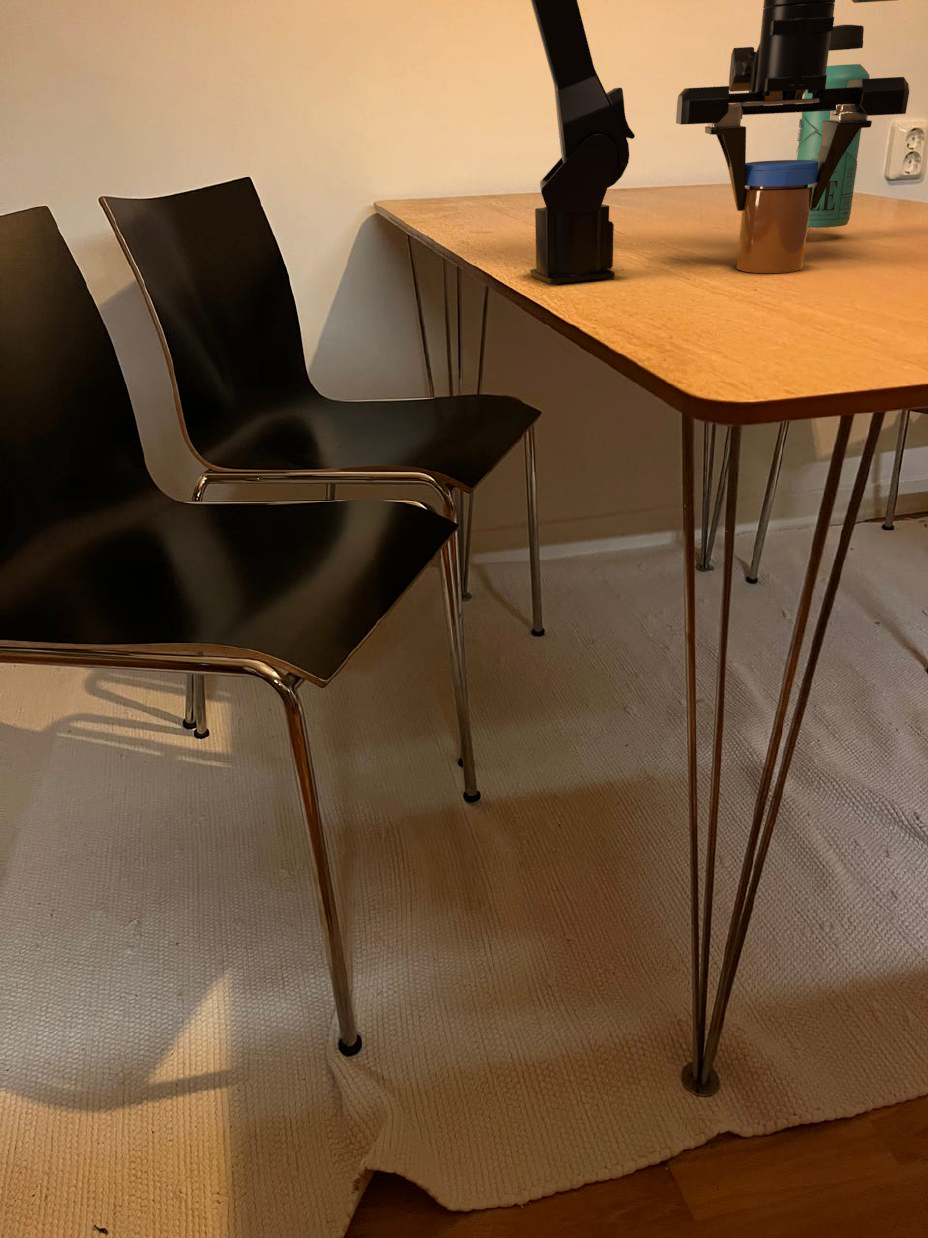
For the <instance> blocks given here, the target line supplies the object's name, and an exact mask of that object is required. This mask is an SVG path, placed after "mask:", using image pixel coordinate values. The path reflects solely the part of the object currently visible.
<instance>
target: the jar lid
mask: <svg viewBox="0 0 928 1238" xmlns="http://www.w3.org/2000/svg"><path fill="white" fill-rule="evenodd" d="M818 163H819V162H818V161H814V160H797V159H779V160H776V159H775V160H762V161H761V160H760V161H750V162H746V166H745V187H748V186H757V187H780V186H799V185H808V184H813V183H816V178H817V170H818Z"/></svg>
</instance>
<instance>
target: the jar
mask: <svg viewBox="0 0 928 1238" xmlns="http://www.w3.org/2000/svg"><path fill="white" fill-rule="evenodd" d="M812 189H813V186H811V185H799V186H780V187H757V186H745V197H744V204H743V210H742V211H741V216H740V224H739V225H740V226H739V236H738V245H737V246H738V247H737V259H736V269H737V270H738V271H741V272H746V273H751V274H784V273H792V272H797V271H800V270H802V269H803V267H804V260H805V252H806V246H807V245H806V243H807V236H808V229H809V228H808V221H809V213H810V205H811V197H812Z"/></svg>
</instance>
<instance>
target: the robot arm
mask: <svg viewBox="0 0 928 1238" xmlns="http://www.w3.org/2000/svg"><path fill="white" fill-rule="evenodd" d="M895 1H898V0H851V2H852V3H853V4H859V3H861V4H862V3H878V2H879V3H880V2H895ZM530 3H531V6H532V10H533V13H534V17H535V21H536V23H537V28H538V32H539V35H540V39H541V42H542V47H543V50H544V54H545V57H546V61H547V65H548V68H549V72H550V75H551V80H552V82H553V88H554V97H555V98H554V99H555V109H556V118H557V119H556V121H557V128H558V137H559V147H560V155H561V157H560V158H559V159H558V161H557V162H556V163H555V164H554V165H553V166H552V168H551V169H550V170H548V172H547V173H546V174H545V175H544V177H543V178H542V179H541V180H540V182H539V188H540V194H541V196H542V199H543V201H544V205H545V206H544V207H537V208H535V209H534V216H535V218H534V219H535V220H534V221H535V222H534V223H535V224H534V225H535V268H532V269H529V273H530V275H531V276H532V277H535V278H537V279H539V280H542V281H544V282H546V283H549V284H563V283H564V284H565V283H572V282H573V283H574V282H583V281H590V280H600V279H609V278H615V277H616V271H614V270H611V269H612V268H613V267H614V232H615V224H614V223H613V221H611V220H610V205H608V204H603V202H604V200H605V198H606V197H605V196H606V195H607V191H608V189H609V188H611V187H612V186H614V185H615V184H616V183H617V182H618V181H619V180H620V179H621V178H622V177H623V176H624V173H625V171H626V169H627V168H628V165H629V160H630V147H629V145H630V144H629V142H628V139H631V140H634V139H635V136H636V135H635V133H634V132H633V131H632V129H631V128H630V126H629V124H628V121H627V117H626V110H625V97H624V91H623V88H622V87H614V88H612V89H611V90H609V91H607V92H606V90H605V88H604V85H603V83H602V81H601V79H600V78H599V75H598V73H597V71H596V69H595V65H594V62H593V58H592V53H591V49H590V46H589V45H590V44H589V42H588V38H587V34H586V30H585V26H584V22H583V17H582V15H581V11H580V7H579V2H578V0H530ZM835 3H836V0H763V5H762V7H763V9H762V17H761V26H760V38H759V44H758V47H757V49H756V51H755V47H753V46H745V47H744V46H743V47H733V49H732V52H731V55H730V63H729V64H730V66H729V78H728V79H729V80H728V85H721V86H703V87H701V86H700V87H688V88H683V89H682V91H681V92H680V93H679V94H678V96H677V101H676V113H675V114H676V115H675V123H676V124H678V125H701V124H702V125H703V124H704V125H705V124H707V126H704V133H705V134H708V135H713V136H715V135H716V138H717V140H718V142H719V145H720V147H721V150H722V154H723V157H724V159H725V163H726V165H727V169H728V174H729V180H730V184H731V190H732V194H733V199H734V203H735V207H736V211H738V212H742V210H743V204H744V197H745V187H746V186H745V166H746V163H747V162H746V161H747V160H746V157H747V126H744V125H741V123H742V120H743V116H750V115H751V116H753V115H773V114H774V115H775V114H791V113H802V112H816V111H830V121H823V124H822V140H821V146H820V151H819V155H818V160H817V161H818V162H819V163H818V170H817V178H816V183H813V184H812V186H813V189H812V197H811V205H810V208H816V207H817V205H818V203H819V201H820V199H821V197H822V195H823V193H824V191H825V189H826V187H827V185H828V183H829V181H830V179H831V177H832V175H833V173H834V171H835V169H836V167H837V165H838V163H839V161H840V159H841V158H842V156H843V155H844V153H845V151H846V150H847V148H848V147H849V145H850V144H851V142H852V140H853V139H854V137H855V136H856V134H857V132H858V131H859V130H860V129H861V130H862V129H865V128H866V129H867V128H871V127H872V124H873V120H869V119H868V117H869V116H870V117H871V116H889V115H890V116H891V115H894V116H895V115H906V114H907V109H908V102H909V96H910V85H909V82H908V81H907V79H906V78H905V77H904V76H893V77H892V76H891V77H875V78H869V79H855V80H849V82H848V85H847V88H829V89H825V86H826V79H827V75H826V69H827V66H828V60H829V53H830V51H829V45H830V38H831V31H833V26H834V25H835V23H834V22H835V16H834V15H835V14H834V13H835V5H836V4H835ZM806 90H808V92H807V93H812V98H809V99H804V94H805V91H806ZM732 92H733V93H732Z"/></svg>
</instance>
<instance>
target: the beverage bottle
mask: <svg viewBox="0 0 928 1238" xmlns="http://www.w3.org/2000/svg"><path fill="white" fill-rule="evenodd" d="M864 29H865V28H864V25H860V24H838V25H833V31H831V38H830V45H829V52H830V51H831V52H832V51H833V52H834V51H844V50H845V51H847V50H859V49H863V47H864V32H865V31H864ZM826 75H827V79H826V86H825V89H829V88H847V85H848V82H849V80H855V79H870V77H871V76H870V73H869V72H868V71H867V70H866V68H864V67H863V65H862V64H861V63H855V64H854V63H852V64H851V63H850V64H835V65H827V69H826ZM807 92H808V90H806V91H805V93H804V94H803V99H809V98H812V93H807ZM823 121H830V111H816V112H801V118H799V124H798V127H799V129H798V132H797V133H798V134H797V135H798V137H797V141H798V144H797V145H798V146H797V148H796V153H795V154H796V160H814V161H817V160H818V155H819V151H820V146H821V140H822V124H823ZM861 134H862V128H861V129H860V130H859V131H858V132H857V134H856V136H855V137H854V139H853V140H852V142H851V144H850V145H849V147H848V148H847V150H846V151H845V153H844V155H843V156H842V158H841V159H840V161H839V163H838V165H837V167H836V169H835V171H834V173H833V175H832V177H831V179H830V181H829V183H828V185H827V187H826V189H825V191H824V193H823V195H822V197H821V199H820V201H819V203H818V205H817V207H816V208H810V213H809V221H808V229H823V228H838V227H844V226H847V225H848V223H849V221H850V218H851V215H852V206H853V197H854V191H855V184H856V176H857V169H858V168H857V167H858V154H859V148H860V140H861V136H862V135H861ZM808 185H811V186H812V184H808Z"/></svg>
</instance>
